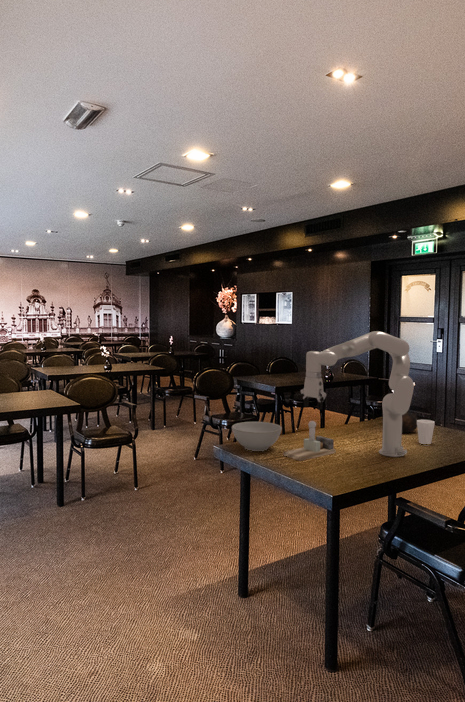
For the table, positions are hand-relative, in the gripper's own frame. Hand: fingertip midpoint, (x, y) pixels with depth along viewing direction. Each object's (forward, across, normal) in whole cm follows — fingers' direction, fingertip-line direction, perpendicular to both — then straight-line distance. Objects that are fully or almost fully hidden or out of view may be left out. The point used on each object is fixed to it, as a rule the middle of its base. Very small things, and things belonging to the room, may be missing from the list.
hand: (312, 408), depth 256 cm
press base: (+24, 0, +2) cm, 24 cm away
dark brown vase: (+25, +4, -85) cm, 89 cm away
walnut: (+22, 0, -6) cm, 23 cm away
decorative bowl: (+24, +24, +18) cm, 38 cm away
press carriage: (+22, 0, 0) cm, 22 cm away
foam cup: (+25, -22, -68) cm, 76 cm away
